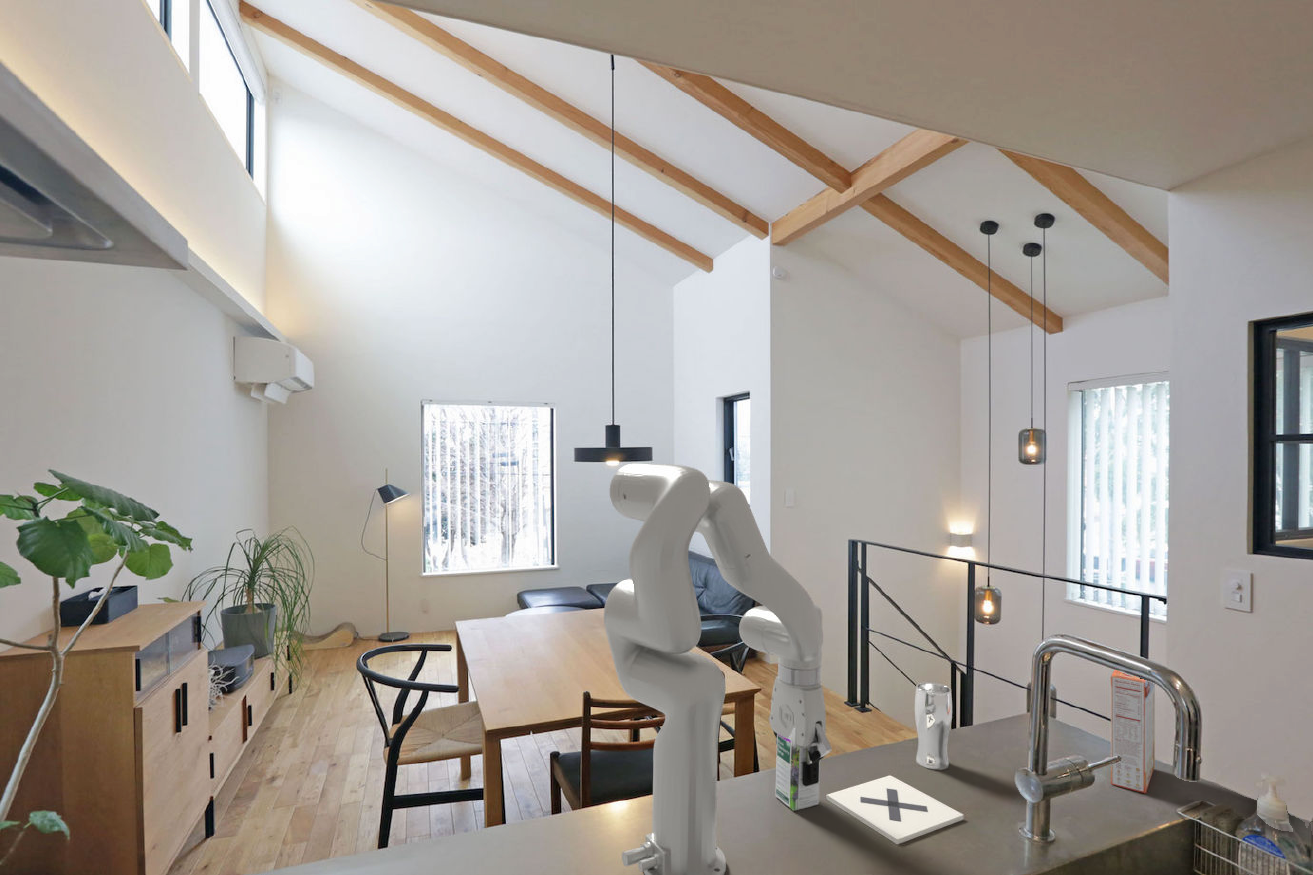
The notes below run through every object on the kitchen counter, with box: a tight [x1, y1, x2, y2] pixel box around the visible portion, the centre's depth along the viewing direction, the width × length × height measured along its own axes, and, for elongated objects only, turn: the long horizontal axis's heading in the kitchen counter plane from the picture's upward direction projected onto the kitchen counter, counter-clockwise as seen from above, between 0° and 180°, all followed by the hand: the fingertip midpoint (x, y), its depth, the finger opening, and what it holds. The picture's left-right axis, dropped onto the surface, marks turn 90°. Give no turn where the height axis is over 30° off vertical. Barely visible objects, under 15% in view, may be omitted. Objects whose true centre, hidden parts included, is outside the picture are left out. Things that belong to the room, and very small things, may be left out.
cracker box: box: [1110, 670, 1156, 794], centre depth 138 cm, size 14×6×21 cm, turn 139°
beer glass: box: [914, 681, 953, 771], centre depth 142 cm, size 7×7×15 cm
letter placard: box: [826, 774, 964, 845], centre depth 124 cm, size 16×16×1 cm
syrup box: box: [774, 726, 821, 812], centre depth 126 cm, size 6×6×14 cm
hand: (797, 774), depth 126 cm, fingers closed on syrup box, 5 cm apart
